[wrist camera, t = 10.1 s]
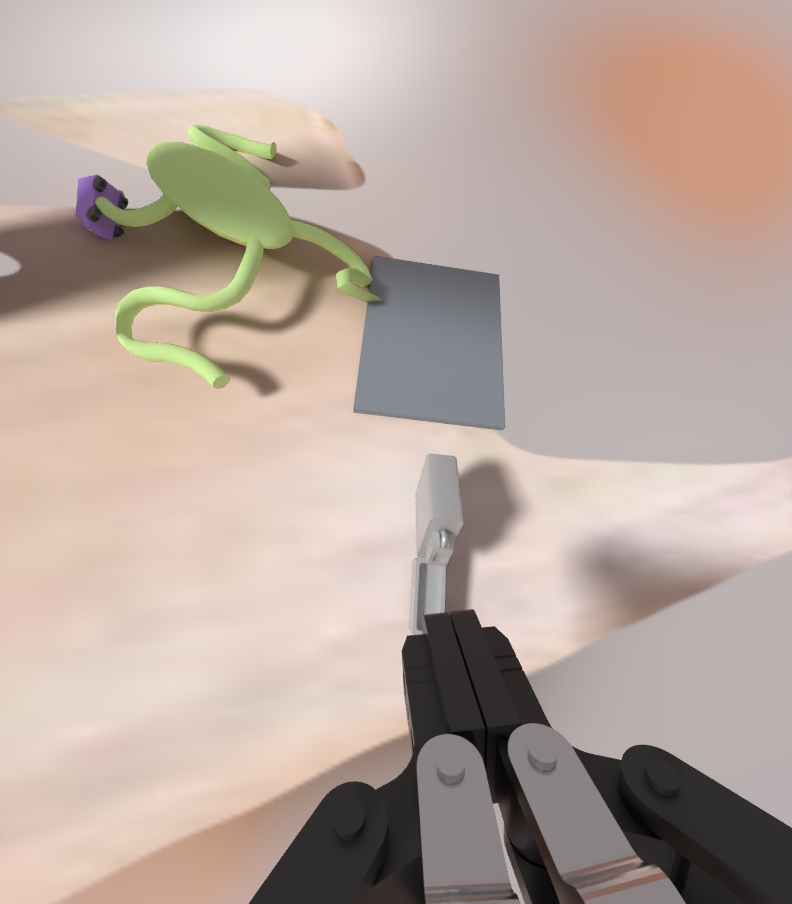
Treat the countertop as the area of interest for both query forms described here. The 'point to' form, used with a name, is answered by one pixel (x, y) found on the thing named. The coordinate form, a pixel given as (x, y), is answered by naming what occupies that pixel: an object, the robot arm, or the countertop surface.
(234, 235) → the figurine
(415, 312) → the slate pad
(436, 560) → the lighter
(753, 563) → the countertop surface
